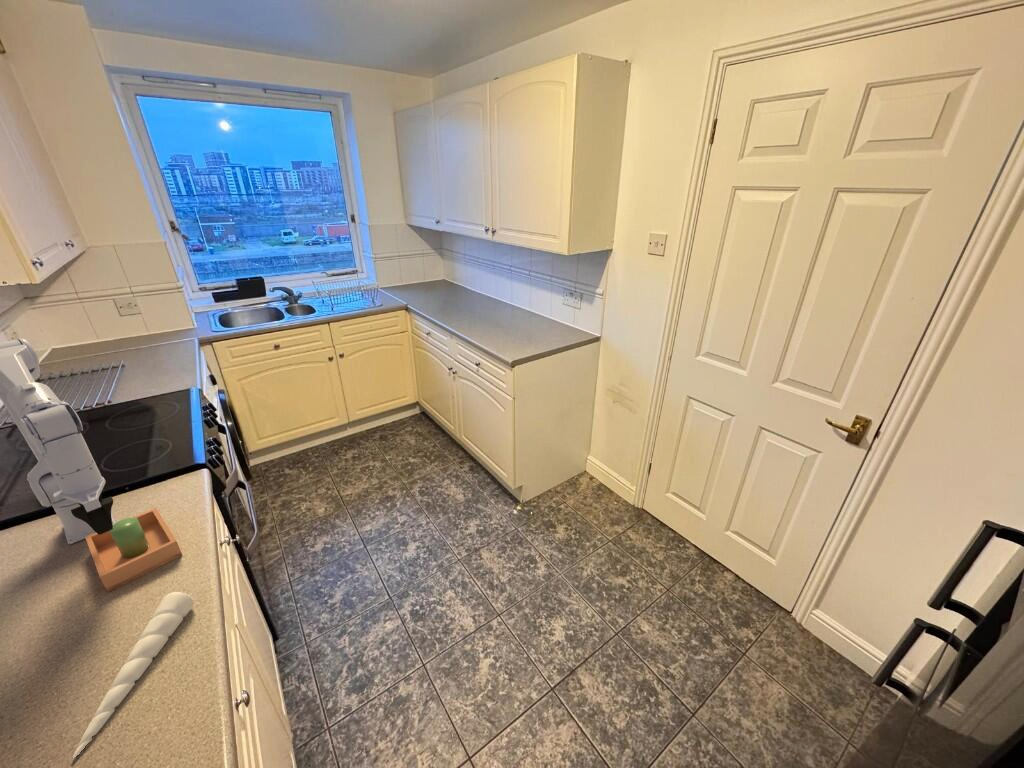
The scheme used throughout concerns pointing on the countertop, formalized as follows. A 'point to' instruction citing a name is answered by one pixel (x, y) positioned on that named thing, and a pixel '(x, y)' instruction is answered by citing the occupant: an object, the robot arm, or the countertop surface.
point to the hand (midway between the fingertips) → (101, 522)
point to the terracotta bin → (125, 570)
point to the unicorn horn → (140, 658)
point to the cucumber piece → (129, 538)
